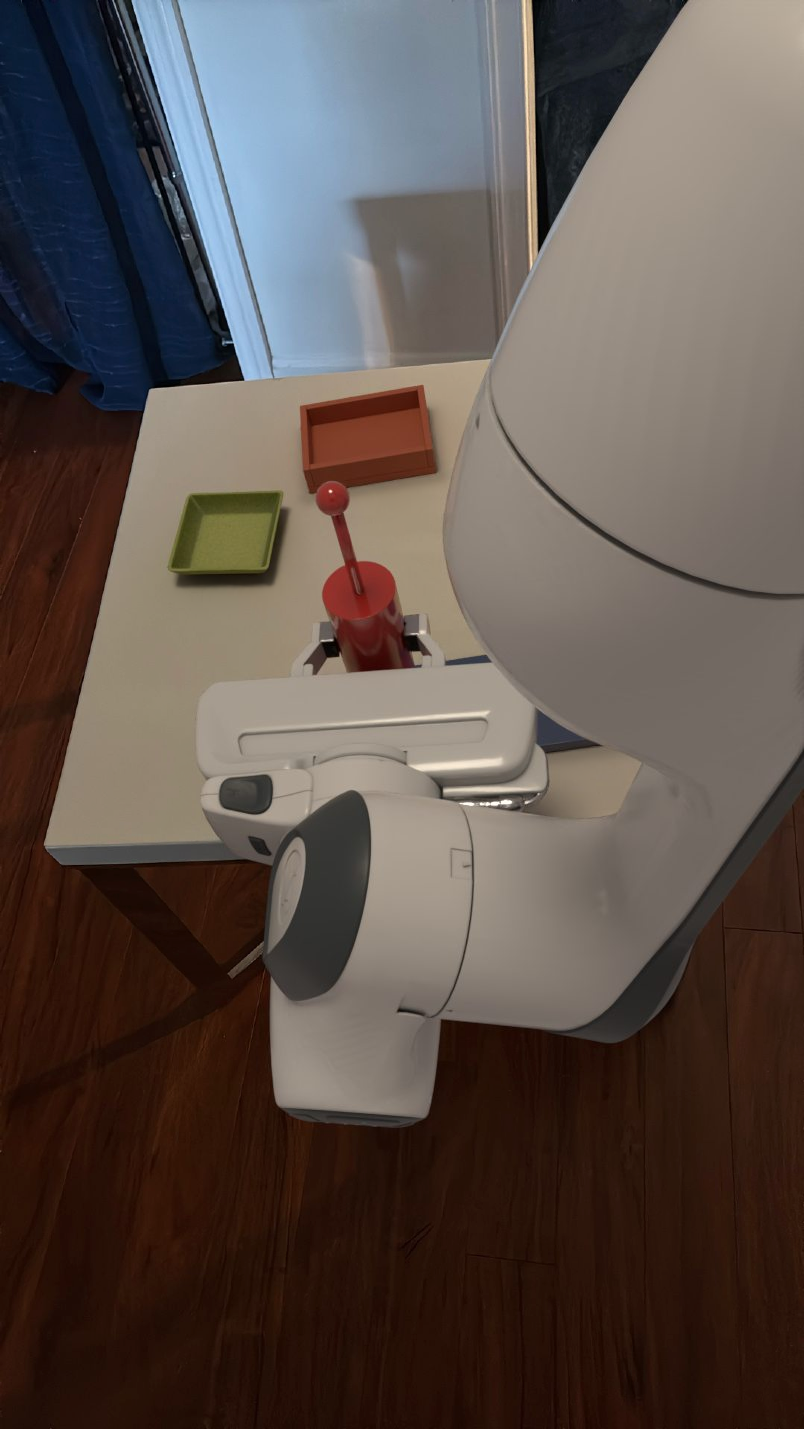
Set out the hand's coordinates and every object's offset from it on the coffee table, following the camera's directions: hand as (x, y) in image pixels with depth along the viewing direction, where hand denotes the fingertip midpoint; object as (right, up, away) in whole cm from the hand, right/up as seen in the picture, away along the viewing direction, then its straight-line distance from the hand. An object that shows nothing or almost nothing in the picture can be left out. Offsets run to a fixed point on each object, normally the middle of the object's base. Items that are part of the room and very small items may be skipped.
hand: (371, 623), depth 65 cm
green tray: (-13, +9, +24) cm, 28 cm away
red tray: (-1, +18, +28) cm, 33 cm away
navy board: (+9, -5, +11) cm, 15 cm away
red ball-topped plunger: (+1, -4, +4) cm, 6 cm away
